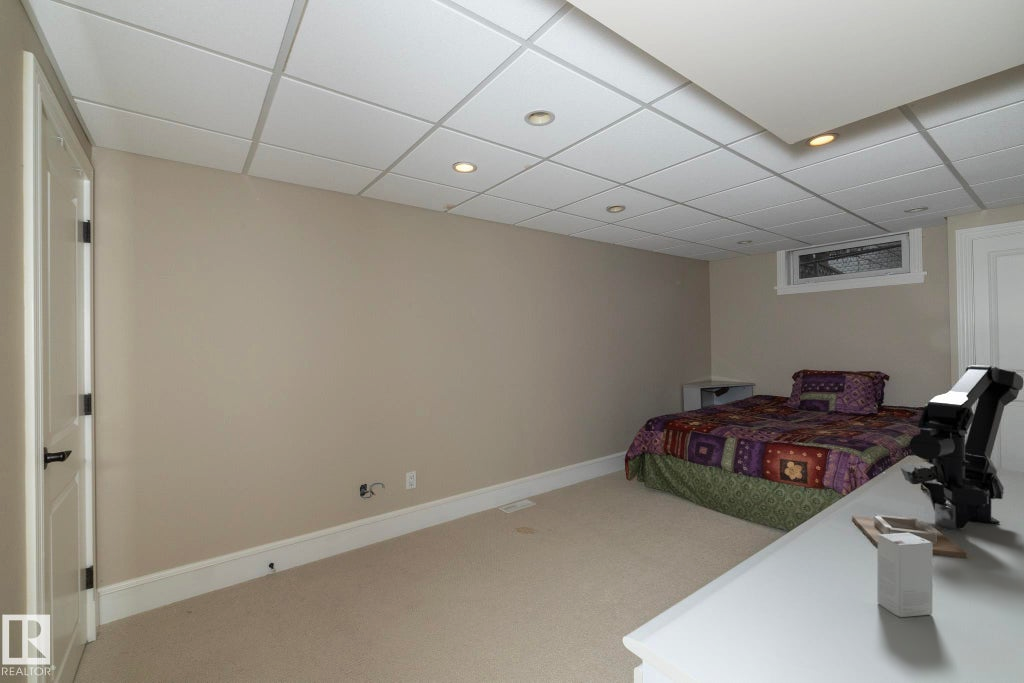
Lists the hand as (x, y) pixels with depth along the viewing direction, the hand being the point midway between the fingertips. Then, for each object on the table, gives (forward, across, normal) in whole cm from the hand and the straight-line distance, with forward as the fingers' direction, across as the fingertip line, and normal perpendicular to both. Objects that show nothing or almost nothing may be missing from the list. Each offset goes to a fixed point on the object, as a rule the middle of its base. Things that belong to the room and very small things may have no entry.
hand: (948, 520), depth 106 cm
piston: (+2, 0, 0) cm, 2 cm away
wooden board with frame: (+2, +10, -12) cm, 16 cm away
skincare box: (+2, +43, -24) cm, 49 cm away
